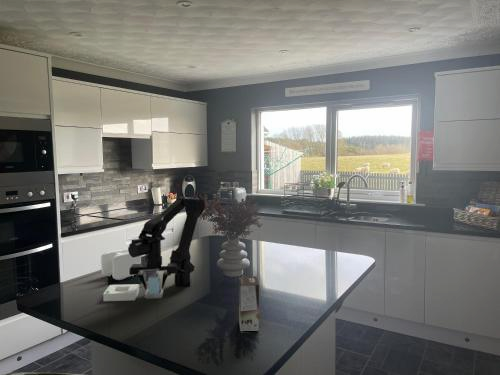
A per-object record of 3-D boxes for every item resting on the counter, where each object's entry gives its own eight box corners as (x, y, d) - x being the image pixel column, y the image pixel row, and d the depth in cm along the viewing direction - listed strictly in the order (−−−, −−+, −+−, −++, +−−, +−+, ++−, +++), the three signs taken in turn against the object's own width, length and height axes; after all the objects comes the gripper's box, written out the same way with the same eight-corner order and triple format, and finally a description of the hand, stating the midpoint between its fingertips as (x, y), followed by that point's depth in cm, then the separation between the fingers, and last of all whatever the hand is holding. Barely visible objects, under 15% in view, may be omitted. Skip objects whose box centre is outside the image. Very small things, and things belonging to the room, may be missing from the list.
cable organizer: (112, 282, 174) (111, 257, 172) (101, 277, 181) (100, 252, 179) (141, 274, 185) (141, 250, 184) (129, 269, 192) (129, 247, 191)
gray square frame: (163, 291, 163) (163, 288, 162) (161, 297, 156) (161, 294, 156) (147, 292, 162) (147, 288, 162) (144, 298, 155) (144, 294, 155)
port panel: (139, 291, 163) (139, 283, 163) (134, 300, 153) (134, 292, 153) (110, 291, 162) (109, 284, 162) (103, 301, 152) (103, 292, 152)
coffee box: (259, 332, 128) (259, 285, 126) (240, 332, 127) (240, 285, 125) (256, 319, 137) (256, 275, 135) (238, 320, 136) (238, 276, 135)
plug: (160, 293, 161) (159, 272, 160) (158, 296, 157) (158, 275, 156) (150, 293, 161) (149, 272, 160) (148, 297, 157) (148, 276, 156)
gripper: (178, 246, 166) (178, 281, 168) (134, 247, 164) (134, 283, 166) (176, 253, 155) (176, 291, 157) (128, 254, 153) (129, 292, 155)
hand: (154, 289), depth 159 cm, fingers open, 6 cm apart
